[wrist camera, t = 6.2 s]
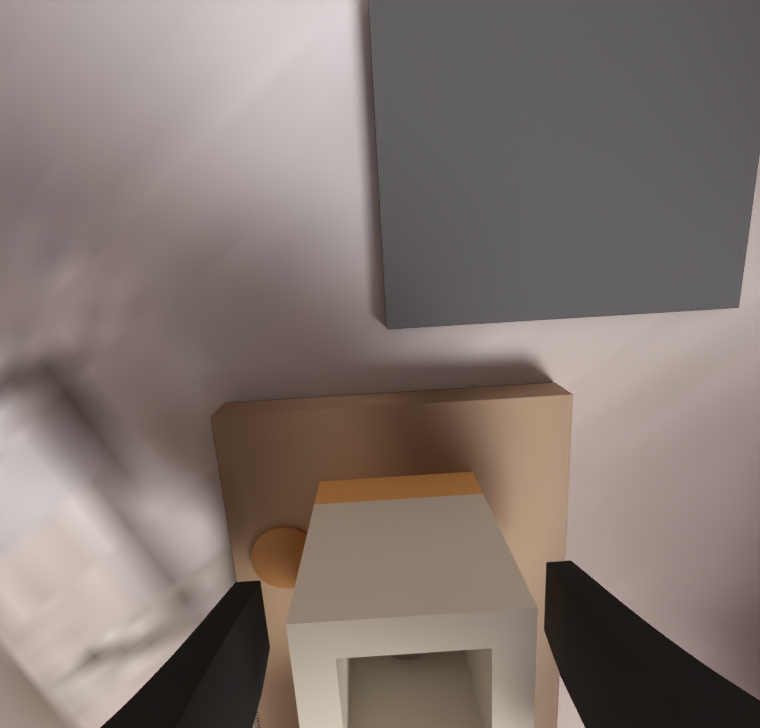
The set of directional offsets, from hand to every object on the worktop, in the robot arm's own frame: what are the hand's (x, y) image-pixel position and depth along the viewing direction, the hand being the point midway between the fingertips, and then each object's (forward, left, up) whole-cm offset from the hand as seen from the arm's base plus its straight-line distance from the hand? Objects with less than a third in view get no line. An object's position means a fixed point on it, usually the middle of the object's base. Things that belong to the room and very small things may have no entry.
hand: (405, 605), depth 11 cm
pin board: (0, +4, -3) cm, 6 cm away
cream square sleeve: (0, 0, -2) cm, 2 cm away
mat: (-5, -10, -3) cm, 12 cm away
